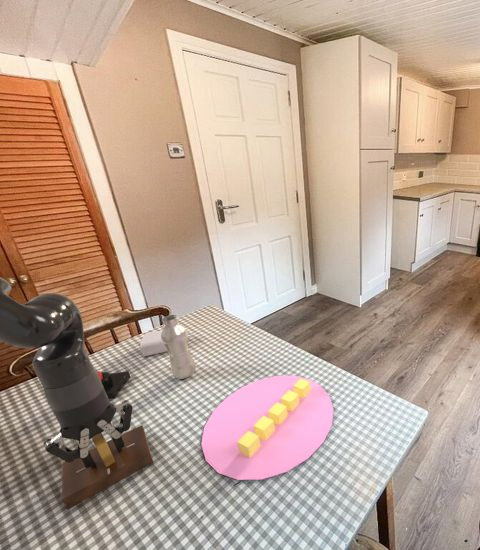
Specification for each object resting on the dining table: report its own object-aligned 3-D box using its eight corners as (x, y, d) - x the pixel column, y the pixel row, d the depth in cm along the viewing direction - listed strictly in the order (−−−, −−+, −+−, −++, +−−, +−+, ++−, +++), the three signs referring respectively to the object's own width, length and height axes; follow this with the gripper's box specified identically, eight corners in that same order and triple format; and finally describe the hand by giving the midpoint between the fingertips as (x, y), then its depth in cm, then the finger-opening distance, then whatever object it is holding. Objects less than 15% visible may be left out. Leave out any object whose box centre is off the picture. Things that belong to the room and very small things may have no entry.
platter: (355, 396, 84) (355, 387, 83) (276, 509, 58) (274, 497, 56) (267, 364, 97) (266, 355, 96) (170, 443, 71) (167, 433, 70)
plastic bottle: (193, 364, 97) (178, 309, 90) (200, 374, 93) (185, 318, 85) (170, 374, 93) (153, 317, 86) (176, 385, 89) (159, 326, 81)
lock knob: (115, 462, 63) (105, 440, 61) (106, 467, 62) (95, 446, 60) (107, 447, 67) (98, 426, 64) (98, 452, 65) (88, 431, 63)
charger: (194, 346, 106) (143, 358, 101) (195, 333, 114) (148, 343, 108) (191, 335, 105) (139, 346, 99) (193, 322, 112) (145, 332, 107)
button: (83, 386, 84) (81, 381, 83) (91, 377, 87) (89, 372, 86) (98, 384, 84) (96, 379, 84) (106, 375, 88) (104, 370, 87)
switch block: (64, 405, 82) (58, 394, 80) (85, 383, 90) (80, 372, 88) (114, 398, 84) (110, 387, 82) (130, 376, 92) (126, 366, 91)
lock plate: (67, 509, 58) (61, 499, 57) (67, 472, 65) (62, 461, 63) (153, 462, 67) (149, 452, 65) (145, 433, 73) (142, 424, 72)
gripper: (27, 429, 51) (65, 496, 57) (128, 382, 61) (151, 443, 67) (21, 408, 55) (57, 472, 61) (116, 367, 65) (139, 425, 72)
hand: (106, 456), depth 64 cm, fingers open, 4 cm apart
